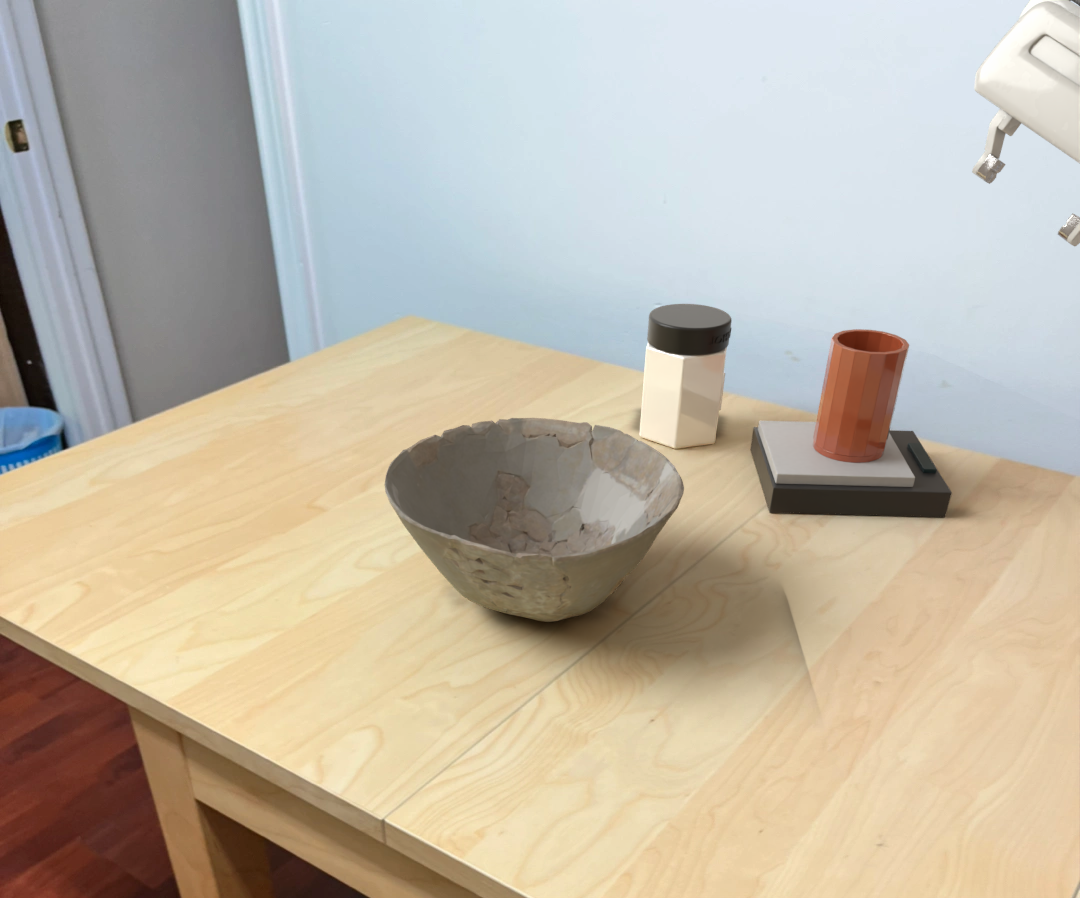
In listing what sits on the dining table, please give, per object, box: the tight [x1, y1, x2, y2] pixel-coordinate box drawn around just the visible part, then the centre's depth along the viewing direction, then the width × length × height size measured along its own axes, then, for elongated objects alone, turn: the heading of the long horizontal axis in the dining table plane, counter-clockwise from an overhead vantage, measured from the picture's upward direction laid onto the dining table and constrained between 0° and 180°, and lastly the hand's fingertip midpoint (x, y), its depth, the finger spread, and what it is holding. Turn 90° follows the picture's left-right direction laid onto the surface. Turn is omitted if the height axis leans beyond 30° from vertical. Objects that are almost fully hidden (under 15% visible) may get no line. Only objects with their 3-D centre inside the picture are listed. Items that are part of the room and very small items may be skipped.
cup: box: [813, 328, 910, 463], centre depth 95 cm, size 7×7×10 cm
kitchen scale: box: [749, 420, 953, 518], centre depth 99 cm, size 16×14×4 cm
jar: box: [639, 303, 732, 450], centre depth 106 cm, size 9×8×12 cm
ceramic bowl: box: [384, 417, 685, 623], centre depth 81 cm, size 22×23×10 cm
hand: (1022, 208), depth 86 cm, fingers open, 8 cm apart
